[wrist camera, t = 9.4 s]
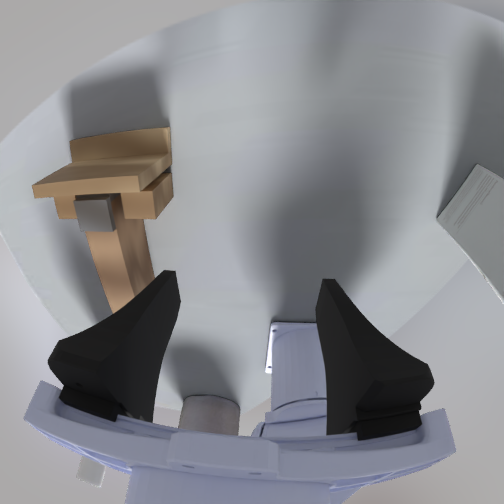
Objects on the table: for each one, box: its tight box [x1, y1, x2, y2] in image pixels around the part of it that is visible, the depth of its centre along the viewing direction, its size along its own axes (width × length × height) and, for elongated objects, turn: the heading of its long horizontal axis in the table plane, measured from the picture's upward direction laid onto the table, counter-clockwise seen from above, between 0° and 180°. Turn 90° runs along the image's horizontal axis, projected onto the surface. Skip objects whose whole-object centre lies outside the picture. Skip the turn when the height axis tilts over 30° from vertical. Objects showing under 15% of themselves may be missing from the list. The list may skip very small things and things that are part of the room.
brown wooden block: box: [73, 193, 155, 314], centre depth 22 cm, size 14×3×5 cm, turn 179°
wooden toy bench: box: [32, 127, 173, 219], centre depth 17 cm, size 6×9×6 cm, turn 88°
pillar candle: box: [178, 395, 240, 436], centre depth 34 cm, size 10×10×15 cm
